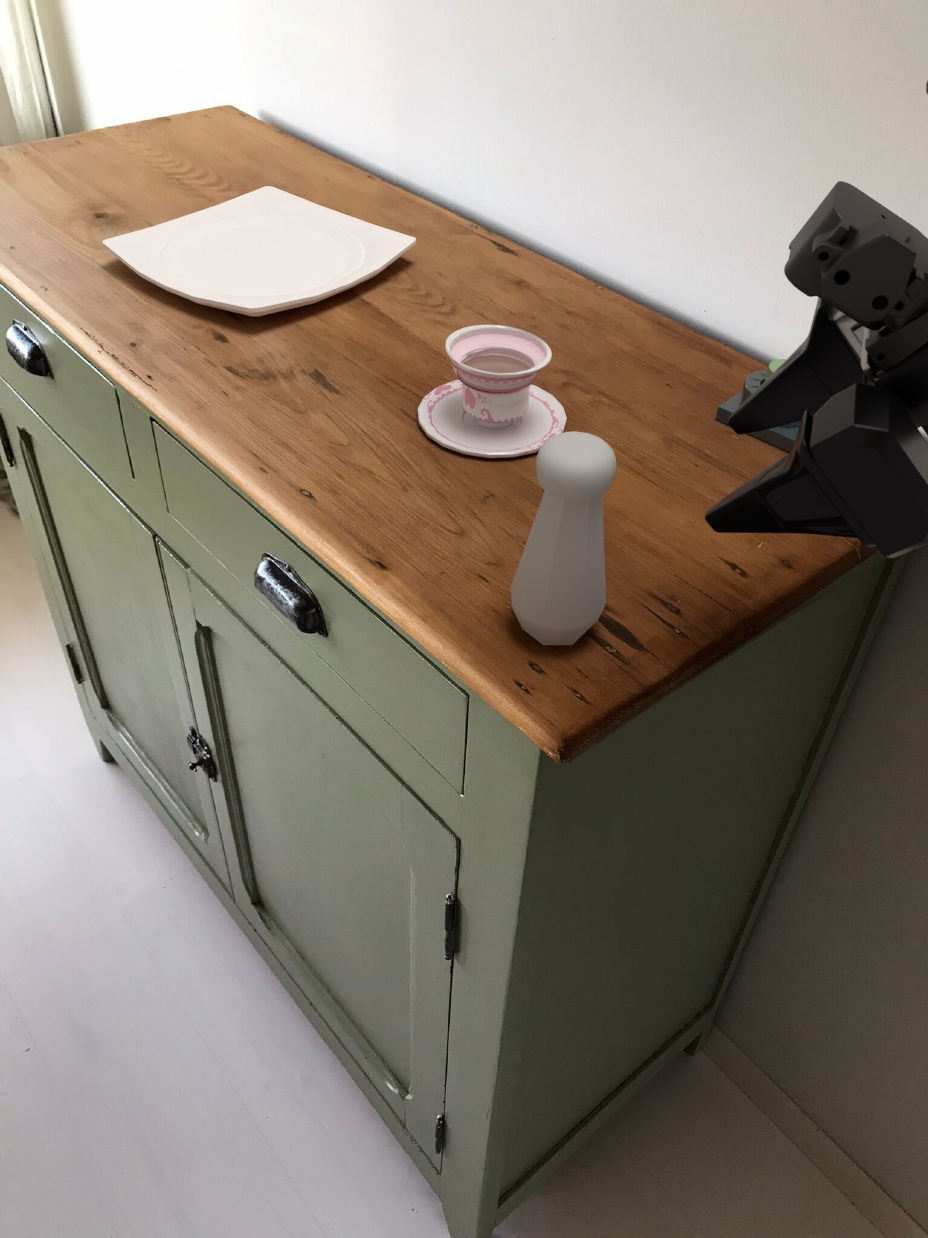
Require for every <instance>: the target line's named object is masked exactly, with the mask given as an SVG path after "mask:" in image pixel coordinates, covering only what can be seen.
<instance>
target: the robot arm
mask: <svg viewBox="0 0 928 1238" xmlns="http://www.w3.org/2000/svg"><path fill="white" fill-rule="evenodd" d="M925 84H926V85H925V92H926V95H928V80H927V81H926V83H925ZM788 250H789V255H788V258H787V259H788V260H787V261H786V263H785V264H784V269H783V272H784V275H785V277H786V280H788V282H789V283H790V284H791V285H793V287H794V288H795V289H797V290H798V291H800V293H802V294H804V295H805V296H807V297H809V298H810V297H811V298H813V297H817V302H816V306H815V310H814V313H813V317H812V321H811V324H810V329H809V332H808V335H807V337H806V338H805V340H803V342H802V343H801V344H799V346H798V347H797V348H796V349H795V350H794V351H793V352H792V353H791V355H789V357H788V358H786V359H787V360H786V361H785V362H784V363H783V364H782V365H781V366H780V367H779V368H778V369H777V370H776V371H775V372H774V373H773V374H772V375H771V376H770V377H769V378H768V379H767V380H766V381H765V382H764V383H763V384H762V385H761V386H760V387H759V388H758V389H757V390H756V391H755V392H754V393H753V394H752V395H751V396H750V397H749V398H748V399H747V400H746V401H745V402H744V403H743V404H742V405H741V406H740V407H738V408H737V409H736V410H735V411H734V412H733V413H732V414H731V415H730V417H729V420H728V423H729V425H728V426H730V428H731V429H732V430H733V431H734V433H735V434H736V435H738V436H740V435H742V436H743V435H748V434H747V433H752V432H757V431H762V430H767V429H771V428H774V427H778V426H782V425H786V424H790V423H794V422H797V421H801V423H800V426H799V430H798V433H797V436H796V440H795V443H794V446H793V449H792V450H791V452H790V453H789V452H788V454H786V455H784V456H783V457H781V458H780V459H779V460H777V461H775V462H774V463H773V464H772V465H770V466H769V467H767V468H765V469H763V471H760V473H758V474H756V475H755V476H754V477H753V478H751V479H749V480H748V481H747V482H744V484H742V485H740V486H739V487H737V488H736V489H734V491H732V492H731V493H729V494H728V495H726V496H725V497H724V498H722V499H721V500H719V501H718V502H717V503H716V504H714V505H713V506H711V508H708V509H707V511H706V512H705V515H704V520H705V522H706V523H707V524H708V525H709V527H710V528H711V530H713V531H714V532H716V533H719V534H720V533H721V534H795V535H796V534H802V535H816V536H817V535H818V536H829V537H840V538H851V539H857V540H858V541H859V542H860V543H861V544H862V545H863V546H864V547H865V548H867V549H869V548H874V547H876V548H877V549H878V550H879V552H880V553H881V554H882V556H883V557H884V558H887V559H894V558H897V557H900V556H902V555H904V554H906V553H909V552H912V551H913V550H916V549H918V548H921V547H924V546H925V545H928V442H927V440H926V439H925V437H924V436H923V434H922V433H921V431H920V430H919V429H920V428H921V429H922V430H923V431H924V433H925V434H926V436H927V437H928V237H927V236H926V235H924V234H923V233H922V232H921V230H919V229H918V228H917V227H915V226H914V225H913V224H912V223H910V222H908V221H907V220H905V219H904V218H902V217H900V216H899V215H898V214H897V213H894V212H893V211H892V210H891V209H889V208H887V207H886V206H884V205H883V204H882V203H880V202H879V201H877V200H876V199H874V198H872V197H871V196H869V195H868V194H866V193H865V192H863V191H862V190H861V189H859V188H858V187H856V186H854V185H853V184H851V183H850V182H846V181H842V180H840V181H839V180H838V181H837V182H836V183H835V184H834V185H833V187H832V188H831V189H830V191H829V192H828V193H827V194H826V196H825V197H824V199H823V200H822V201H821V203H820V204H818V206H817V208H815V210H814V211H813V212H812V214H811V216H810V217H808V219H807V220H806V221H805V223H804V225H803V226H802V227H801V228H800V229H799V231H798V232H797V234H796V235H795V236H794V237H793V239H792V240H791V242H790V243H789V244H788Z"/></svg>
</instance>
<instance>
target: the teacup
mask: <svg viewBox="0 0 928 1238" xmlns="http://www.w3.org/2000/svg"><path fill="white" fill-rule="evenodd" d="M444 343H445V344H444V348H445V351H446V354H447V358H448V360H449V362H450V365H451V367H452V369H453V371H454V373H455V375H456V377H457V379H456V380H452V381H449V382H447V383H444V384H441V385H439V386H437V387H435V388H434V389H432V390H431V391H430V392H428V393H427V394H426V395H425V396H423V398H422V400H421V402H420V404H419V406H418V408H417V418H418V419H417V420H418V425H419V427H421V429H422V430H423V432H424V433H425V435H426V436H427V437H428V438H429V439H430V440H433V442H436V443H437V444H438V445H440V446H441V447H443V448H446V449H449V450H451V451H453V452H456V453H460V454H463V455H466V456H473V457H480V458H486V459H498V458H500V459H501V458H503V459H504V458H516V457H522V456H526V455H530V454H531V455H532V454H535V453H537V452H539V449H540V448H541V446H542V445H543V443H544V442H545V441H546V440H548V439H549V438H551V437H553V436H555V435H558V434H560V433H565V428H566V426H567V425H566V424H567V421H568V417H567V415H566V411H565V409H564V408H565V407H564V406H563V405H562V404H561V402H560V401H559V400H558V399H557V398H556V397H555V396H554V395H553V394H551V393H550V392H548V391H546V390H544V389H542V388H540V387H539V386H537V385H534V384H533V383H534V382H535V381H536V379H537V377H538V374H540V373H541V372H542V371H543V369H544V368H545V367H547V366H548V365H549V363H550V362H551V360H552V358H553V357H552V356H553V353H552V350H551V347H550V346H549V345H548V343H547V342H546V341H544V340H543V339H542V338H541V337H539V336H537V335H535V334H533V333H531V332H530V331H529V332H528V331H526V330H523V329H521V328H518V327H517V328H516V327H513V326H508V325H502V324H477V325H470V326H465V327H462V328H460V329H457V330H455V331H454V332H452V333H450V334H449V336H448V337H446V340H445V342H444Z"/></svg>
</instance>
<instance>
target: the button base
mask: <svg viewBox="0 0 928 1238" xmlns="http://www.w3.org/2000/svg"><path fill="white" fill-rule="evenodd" d="M767 370H768V368H767V369H760V370H755V371H753V372H752V373H750V374H749V375H747V376H746V377H745V378H744V382H743V386H742V391H740V392H738V393H737V394H735V395H734V396H732V397H731V398H729V399H728V400H725V402H723V403H721V404H720V405H718V406H717V411H716V414H715V420H717V421H718V422H721V423H723V424H725V425H728V426H730V425H729V423H728V420H729V417H730V415H731V414H732V413H733V412H734V411H735V410H736V409H737V408H738V407H740V406H741V405H742V404H743V403H744V402H745V401H746V400H747V399H748V398H749V397H750V396H751V395H752V394H753V393H754V392H755V391H756V390H757V389H758V388H759V387H760V386H761V385H762V384H763V383H764V381H765V378H766V374H767ZM800 423H801V421H797V422H794V423H790V424H786V425H782V426H778V427H774V428H771V429H767V430H762V431H757V432H752V433H747V434H746V435H749V436H752V437H754V438H756V439H759V440H761V441H763V442H765V443H768V444H769V445H772V446H774V447H776V448H778V449H781V450H782V451H785V452H787V453H788V454H789V453H790V452H791V450H792V449H793V446H794V443H795V440H796V436H797V433H798V430H799V426H800Z"/></svg>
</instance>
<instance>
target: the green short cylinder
mask: <svg viewBox="0 0 928 1238" xmlns="http://www.w3.org/2000/svg"><path fill="white" fill-rule="evenodd" d="M787 359H788V358H783V359H782V358H779V359H775V360H772V361H771V362H770V363H769V364H768V368H767V369H768V370H767V369H766V370H767V374H766V378H765V381H766V380H767V379H768V378H769V377H770V376H771V375H772V374H773V373H774V372H775V371H776V370H777V369H778V368H779V367H780V366H781V365H782V364H783V363H784V362H785V361H786V360H787ZM765 381H764V382H765Z"/></svg>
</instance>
